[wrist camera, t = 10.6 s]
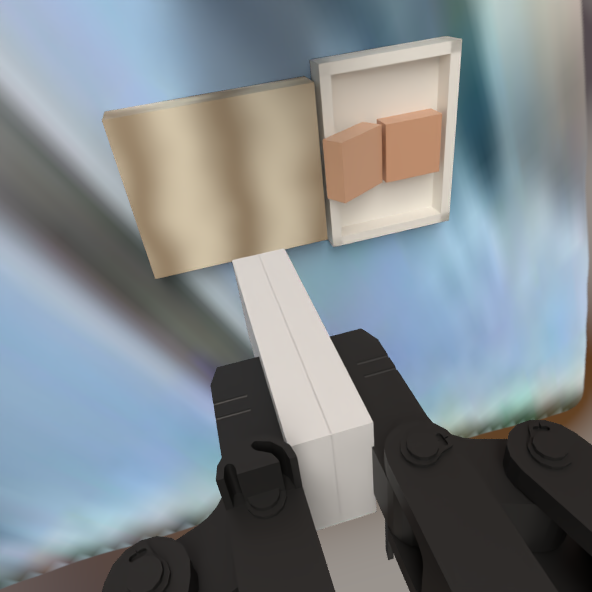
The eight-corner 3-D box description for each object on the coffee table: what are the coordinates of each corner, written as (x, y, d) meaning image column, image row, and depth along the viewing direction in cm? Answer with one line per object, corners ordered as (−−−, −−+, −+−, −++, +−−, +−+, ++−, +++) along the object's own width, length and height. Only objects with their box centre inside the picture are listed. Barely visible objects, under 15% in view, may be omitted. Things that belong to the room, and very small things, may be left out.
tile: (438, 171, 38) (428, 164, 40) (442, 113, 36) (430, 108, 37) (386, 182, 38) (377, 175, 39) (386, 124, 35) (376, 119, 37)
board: (155, 263, 39) (155, 279, 37) (104, 111, 32) (102, 120, 30) (318, 226, 41) (327, 239, 39) (304, 76, 34) (314, 82, 32)
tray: (325, 235, 42) (333, 247, 40) (309, 59, 34) (318, 64, 32) (436, 210, 43) (448, 220, 42) (446, 36, 35) (462, 39, 34)
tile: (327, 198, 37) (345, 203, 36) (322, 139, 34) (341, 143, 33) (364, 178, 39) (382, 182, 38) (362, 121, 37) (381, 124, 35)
